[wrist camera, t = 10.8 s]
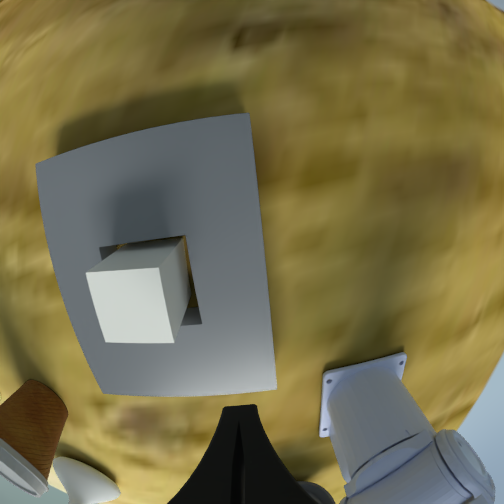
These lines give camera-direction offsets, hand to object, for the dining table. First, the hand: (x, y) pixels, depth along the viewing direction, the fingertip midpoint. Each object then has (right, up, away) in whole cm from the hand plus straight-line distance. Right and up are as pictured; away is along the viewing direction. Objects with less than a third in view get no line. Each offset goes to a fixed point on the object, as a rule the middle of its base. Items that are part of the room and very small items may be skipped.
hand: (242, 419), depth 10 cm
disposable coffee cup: (-23, -10, +12) cm, 28 cm away
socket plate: (-6, +6, +8) cm, 11 cm away
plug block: (-6, +6, +8) cm, 12 cm away
